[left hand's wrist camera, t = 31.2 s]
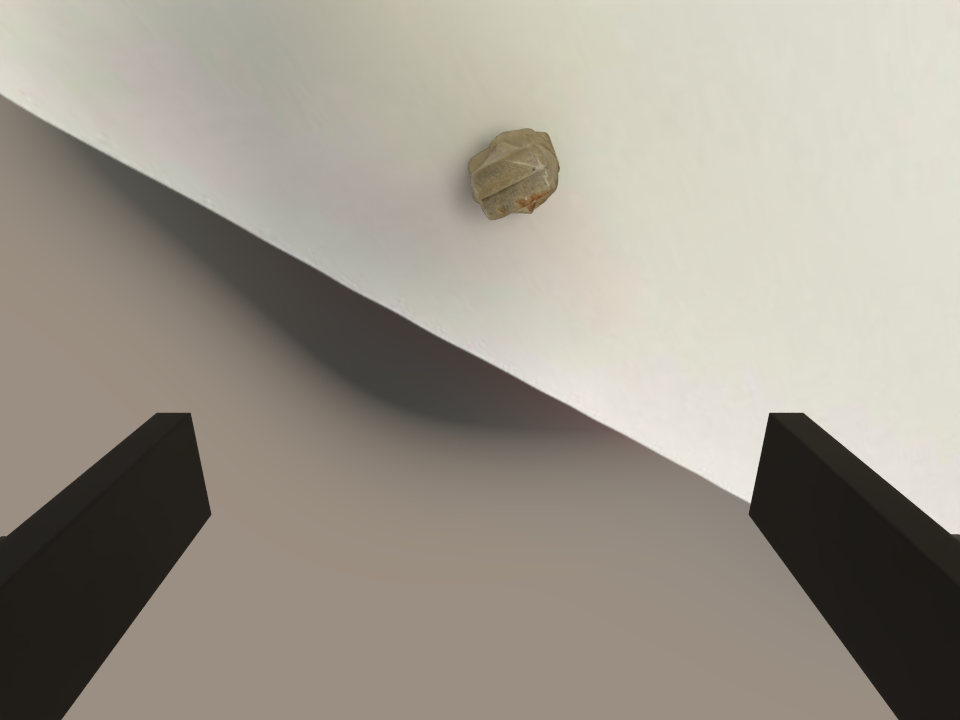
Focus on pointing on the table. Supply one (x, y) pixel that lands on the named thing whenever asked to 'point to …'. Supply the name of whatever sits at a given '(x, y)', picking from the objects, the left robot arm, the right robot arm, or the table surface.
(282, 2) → the table surface
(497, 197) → the sculpture
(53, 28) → the table surface
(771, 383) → the table surface
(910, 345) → the table surface
